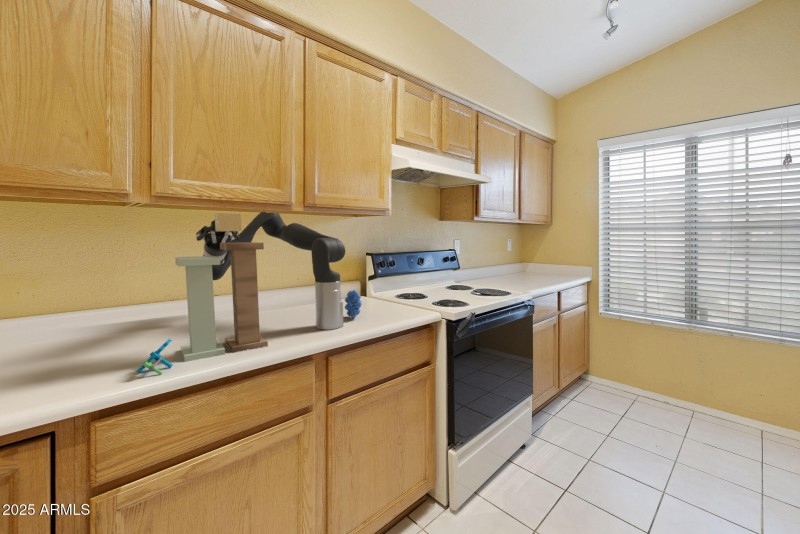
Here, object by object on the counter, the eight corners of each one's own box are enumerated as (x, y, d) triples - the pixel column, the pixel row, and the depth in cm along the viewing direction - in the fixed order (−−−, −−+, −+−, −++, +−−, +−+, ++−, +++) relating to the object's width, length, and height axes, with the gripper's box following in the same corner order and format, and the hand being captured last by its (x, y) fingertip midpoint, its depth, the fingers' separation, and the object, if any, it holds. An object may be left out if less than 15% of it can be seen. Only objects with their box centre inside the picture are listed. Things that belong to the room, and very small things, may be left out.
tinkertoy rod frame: (146, 357, 93) (172, 331, 93) (165, 370, 95) (191, 344, 95) (124, 379, 83) (154, 349, 83) (147, 393, 85) (176, 364, 85)
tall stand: (225, 342, 112) (219, 242, 109) (257, 337, 117) (253, 242, 115) (232, 352, 102) (227, 243, 99) (267, 346, 108) (263, 242, 105)
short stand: (181, 350, 104) (175, 257, 102) (218, 343, 110) (213, 255, 108) (184, 361, 95) (178, 259, 92) (225, 354, 101) (220, 257, 98)
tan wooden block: (208, 231, 116) (207, 216, 116) (228, 231, 120) (227, 216, 119) (218, 231, 99) (217, 213, 99) (241, 231, 103) (240, 214, 102)
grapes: (369, 319, 142) (369, 290, 141) (355, 321, 138) (354, 291, 137) (355, 314, 152) (354, 286, 150) (341, 316, 147) (340, 288, 146)
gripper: (238, 256, 128) (246, 232, 115) (194, 257, 119) (197, 232, 106) (235, 238, 130) (243, 212, 117) (192, 238, 122) (195, 211, 109)
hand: (221, 222), depth 112 cm, fingers closed on tan wooden block, 3 cm apart
